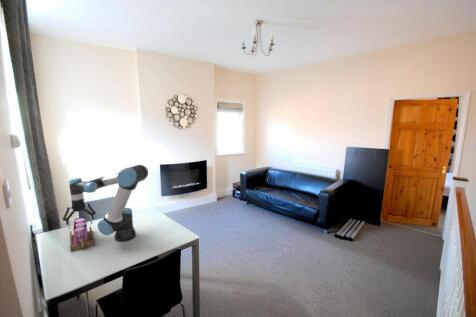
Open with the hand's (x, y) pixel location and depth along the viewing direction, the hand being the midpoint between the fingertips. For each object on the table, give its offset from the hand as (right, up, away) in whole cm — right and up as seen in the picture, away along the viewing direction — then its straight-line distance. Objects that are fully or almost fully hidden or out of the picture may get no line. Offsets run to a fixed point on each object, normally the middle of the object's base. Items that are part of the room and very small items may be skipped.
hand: (81, 226), depth 172 cm
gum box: (-1, -11, +2) cm, 11 cm away
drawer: (0, -12, +1) cm, 12 cm away
